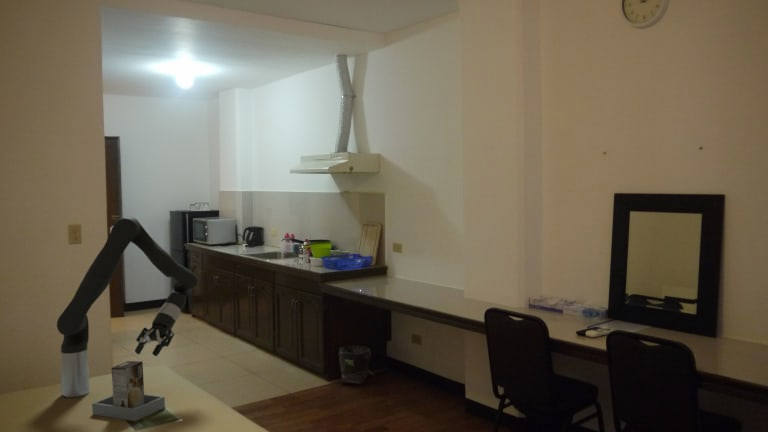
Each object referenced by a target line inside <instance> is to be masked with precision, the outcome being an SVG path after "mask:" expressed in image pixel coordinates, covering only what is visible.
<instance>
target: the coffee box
mask: <svg viewBox="0 0 768 432" xmlns="http://www.w3.org/2000/svg"><path fill="white" fill-rule="evenodd" d="M143 365H144V364H143V361H136V360H127V361H124V362H123V363H120V364H117V365H115V366H113V367H111V379H112V380H111V381H112V382H111V383H112V384H111V385H112V395H113V403H114V406H120V407H127V408H134V409H135V408H137V407H140V406H142V405H144V404H145V399H144V394H145V387H144V386H145V384H144V382H145V381H144V367H143Z"/></svg>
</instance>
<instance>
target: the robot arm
mask: <svg viewBox="0 0 768 432" xmlns="http://www.w3.org/2000/svg"><path fill="white" fill-rule="evenodd" d="M130 243H132V244H134V245H135V246H136V247H138V248H139V249H140V251H141V252H143V254H144V255H145V256H146V257H147V259H148V260H149V261H150V263H151V264H152V265H153V266H154V267H155V268H156V270H158V271H159V272H160V273H162V275H164V276H165V277H167V278H173V279H174V280H175V283H174V284H173V287H172V289H171V291H170V294H169V295H168V296H167V298H166V299H165V301H164V303H163V305H162V306H161V307H160V308H159V310H158V312H157V314H156V315H155V317H154V319H153V321H152V325H151V327H150V328H147V327H143V328H142V330H141V331H140V332H139V335H138V336H137V338H136V339H135V341H136V342H137V343H138V344H137V345H136V348H135V349H134V352H135V353H136V355H140V354H141V353H142V351H143V349H144V348H145V346H146V345H147V344H149V343H151V342H157V344H156V345H155V347H154V349H153V350H152V351H151V352H152V355H153V356H154V357H158V355H160V353H161V351H162V350H163V348H165V347H169V346H170V344H171V342H172V341H173V340H172V339H173V338H174V335H175V332H174V331H173V330H172V329H173V328H174V326H175V324H176V322H177V320H178V318H179V316H180V314H181V312H182V310H183V309H184V307H185V306H186V305H185V304H186V302H187V298H188V296H189V294H190V293H191V292H192V290H194V289H195V288H196V287H197V285H198V283H199V279H198V277H197V276H196V274H195V273H194V272H193V271H191V270H190V269H189V268H187V267H185V266H183V265H181V264H179V263H178V261H176V259H175V258H173V257H172V256H171V254H169V253H168V252H167V251H166V250H164V248H162V247H161V246H160V245H159V244H158V243H157V242H156V241H155V240H154V239H153V238H152V236H150V234H149V233H148V232H147V231H146V229H145V228H144V227H143V225H142V224H141V223H140V222H139V220H138V219H137V218H135V217H133V216H124V217H121V218H119V219H117V220H116V221H115V223H114V224H113V226H112V229H111V230H110V232H109V234H108V238H107V240H106V241H105V244H104V246H103V247H102V248H101V250H100V252H99V253H98V254H97V256H96V257H95V258H94V260H93V262H92V263H91V265H90V266H89V268H88V269H87V271H86V273H85V275H84V277H83V278H82V281H81V282H80V284H79V286H78V288H77V290H76V291H75V293H74V295H73V297H72V299H71V301H70V302H69V303H68V304H67V306H66V308H65V309H64V310H63V312H62V313H61V314H60V315H59V317H58V318H57V322H56V328H57V330H58V332H59V333H60V334H61V335H63V340H62V342H61V345H60V351H61V352H60V353H61V354H60V356H61V357H60V358H61V370H60V384H61V385H60V386H61V389H60V390H61V395H62V394H63V395H62V396H63V397H64V396H65V398H77V397H81V396H85V395H87V394H89V393H90V375H89V354H88V343H89V339H90V338H89V334H90V333H89V331H90V329H89V327H90V326H89V318H88V315H87V314H88V312H89V310H90V308H91V307H92V306H93V304H94V303H95V302H96V301H97V300H98V299H99V297H100V296H101V295H102V294H104V291H105V290H106V289H107V288H108V286H109V285H110V283H111V281H112V279H113V277H114V276H115V274H116V271H117V269H118V266H119V263H120V260H121V258H122V255H123V253H124V252H125V251H126V249H127V247H128V246H129V244H130Z"/></svg>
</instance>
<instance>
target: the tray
mask: <svg viewBox="0 0 768 432" xmlns="http://www.w3.org/2000/svg"><path fill="white" fill-rule="evenodd" d="M144 399H145V404H144V405H142V406H140V407H137V408H135V409H134V408H127V407H120V406H114V403H113V394H112V395H109V396H108V397H106V398H102V399H100V400H97V401H95V402H92V403H91V404H92V406H91V407H92V408H91V409H92V415H94V416H101V417H106V418H113V419H117V420H126V421H131V422H137V421H139V420H141V419H144V418H146V417H147V416H148V417H149V416H150V415H152V414H155V413H156V412H159V411H161V410H164V409H165V408H166V400H165V399H166V397H165V396H161V395H154V394H148V393H147V394H146V393H144Z"/></svg>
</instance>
